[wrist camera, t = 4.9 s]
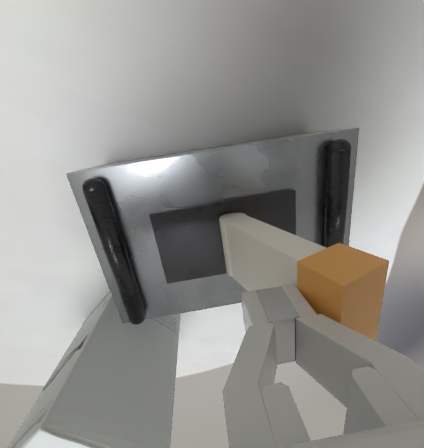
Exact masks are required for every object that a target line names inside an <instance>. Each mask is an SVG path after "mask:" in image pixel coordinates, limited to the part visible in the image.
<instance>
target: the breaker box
mask: <svg viewBox="0 0 424 448" xmlns="http://www.w3.org/2000/svg"><path fill="white" fill-rule="evenodd" d="M358 133H359V128H355V129H344V130H333V131H322V132H312V133H304V134H297V135H291V136H284V137H278V138H272V139H265V140H259V141H252V142H246V143H239V144H233V145H227V146H220V147H214V148H207V149H201V150H194V151H188V152H181V153H175V154H169V155H162V156H156V157H149V158H143V159H136V160H130V161H123V162H117V163H111V164H105V165H100V166H96V167H92V168H88V169H84V170H79V171H75V172H71V173H67V177H68V180H69V182H70V185H71V188H72V190H73V193H74V196H75V198H76V201H77V204H78V206H79V209H80V212H81V214H82V217H83V220H84V222H85V225H86V228H87V230H88V233H89V236H90V238H91V241H92V244H93V246H94V249H95V252H96V254H97V257H98V260H99V262H100V265H101V267H102V270H103V273H104V275H105V278H106V281H107V283H108V286H109V289H110V291H111V294H112V297H113V299H114V302H115V305H116V307H117V310H118V313H119V315H120V318H121V321H122V323H128V322H131V323H132V324H134V325H138V324H141V323H142V322H143V321H144V320H145V319H151V318H156V317H162V316H168V315H173V314H179V313H185V312H190V311H196V310H201V309H207V308H213V307H218V306H224V305H229V304H235V303H241V302H242V301H241V292H247V290H246V289H245V288H244V287H243V286H242V285H241V284H240V283H238V282H237V281H236V280H235V279H234V278H233V277H231V276H229V275H228V274H227V272H226V265H225V257H224V250H223V243H222V236H221V229H220V222H219V218H220V217H221V216H222V215H225V214H228V213H244V214H246V215H247V216H249V217H252V218H254V219H257V220H259V221H262V222H264V223H267V224H269V225H271V226H274V227H276V228H279V229H281V230H284V231H286V232H289V233H291V234H294V235H296V236H299V237H301V238H304V239H306V240H309V241H311V242H314V243H316V244H319V245H321V246H323V247H326V248H328V247H330V246H333V245H335V244H337V243H341V244H344V245H347V246H349V235H350V224H351V213H352V201H353V190H354V178H355V167H356V156H357V144H358Z"/></svg>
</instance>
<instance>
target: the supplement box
mask: <svg viewBox="0 0 424 448" xmlns="http://www.w3.org/2000/svg"><path fill="white" fill-rule="evenodd" d="M179 325H180V313H179V314H173V315H168V316H162V317H156V318H151V319H145V320H144V321H143V322H142V323H141V324H138V325H134V324H132V323H131V322H128V323H122V321H121V318H120V315H119V313H118V310H117V307H116V305H115V302H114V299H113V297H112V294H111V291H110V292H109V293H108V295H107V296H106V297H105V298H104V300H103V301H102V302H101V303H100V304H99V305H98V307H97V308H96V309H95V310H94V311H93V312H92V314H91V315H90V316H89V317H88V318H87V319H86V320H85V322H84V323H83V325H82V327H81V328H80V330H79V331H78V333H77V335H76V336H75V338H74V340H73V341H72V343H71V344H70V346H69V348H68V349H67V351H66V352H65V354H64V356H63V357H62V359H61V361H60V362H59V364H58V365H57V367H56V369H55V370H54V372H53V374H52V375H51V377H50V378H49V380H48V382H47V383H46V385H45V387H44V388H43V390H42V392H41V393H40V395H39V397H38V398H37V400H36V402H35V403H34V405H33V407H32V408H31V410H30V412H29V413H28V415H27V417H26V418H25V420H24V422H23V423H22V425H21V427H20V428H19V430H18V431H17V433H16V435H15V437H14V438H13V440H12V441H11V443H10V445H9V446H8V448H170V442H171V430H172V416H173V404H174V390H175V377H176V365H177V351H178V338H179Z"/></svg>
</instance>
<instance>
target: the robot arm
mask: <svg viewBox="0 0 424 448" xmlns="http://www.w3.org/2000/svg"><path fill="white" fill-rule="evenodd" d="M241 301H242V310H243V319H244V324H245V330H246V334H245V337H244V339H243V342H242V344H241V347H240V349H239V352H238V354H237V357H236V359H235V362H234V364H233V367H232V369H231V372H230V374H229V376H228V379H227V381H226V384H225V387H224V389H223V400H224V408H225V417H226V425H227V434H228V442H229V448H424V373H423V372H422V371H421V370H420V369H419V368H418V367H417V366H416V365H415V364H414V363H413V362H412V361H411V360H410V359H409V358H408V357H405V356H404V355H402V354H400V353H398V352H396V351H394V350H392V349H390V348H388V347H386V346H384V345H382V344H380V343H378V342H376V341H374V340H372V339H370V338H368V337H366V336H364V335H362V334H360V333H358V332H356V331H354V330H352V329H350V328H348V327H346V326H344V325H342V324H340V323H338V322H336V321H334V320H332V319H330V318H328V317H326V316H324V315H322V314H318V315H317V314H316V312H315V311H314V310H313V308H312V307H311V306H310V304H309V303H308V302H307V300H306V299H305V298H304V296H303V295H302V294H301V292H300V291H299V290H298V288H297V287H296V286H295V285H294V284H288V285H283V286H279V287H273V288H266V289H259V290H253V291H247V292H241ZM293 361H296V363H297V364H298V365H299V366H300V367H301V368H303V369H304V370H305V371H306V372H307V373H308V374H309V375H310V376H312V377H313V378H314V379H315V380H316V381H317V382H318V383H320V384H321V385H322V386H323V387H324V388H325V389H326V390H327V391H329V392H330V393H331V394H332V395H333V396H334V397H335V398H337V399H338V400H339V401H340V402H341V403H342V404H343V405H344V406H345V407H347V412H346V419H345V427H344V435H338V436H333V437H328V438H323V439H319V440H313V441H311V440H310V438H309V435H308V433H307V431H306V428H305V425H304V423H303V420H302V418H301V416H300V413H299V411H298V408H297V406H296V403H295V401H294V398H293V396H292V394H291V392H290V389H289V387H288V386H287V385H285V384H283V383H281V382H280V383H275V384H274V379H275V374H276V368H277V364H282V363H287V362H293Z"/></svg>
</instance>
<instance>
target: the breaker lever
mask: <svg viewBox="0 0 424 448" xmlns="http://www.w3.org/2000/svg"><path fill="white" fill-rule="evenodd" d="M219 222H220V229H221V236H222V243H223V250H224V257H225V265H226V272H227V274H228V275H229V276H231V277H233V278H234V279H235V280H236V281H237V282H238V283H240V284H241V285H242V286H243V287H244V288H245V289H246V290H247V291H253V290H259V289H266V288H273V287H279V286H283V285H288V284H294V285H295V286H296V287H297V288H298V290H299V291H300V292H301V294H302V295H303V296H304V298H305V299H306V300H307V302H308V303H309V304H310V306H311V307H312V308H313V310H314V311H315V312H316V314H317V315H318V314H322V315H324V316H326V317H328V318H330V319H332V320H334V321H336V322H338V323H340V324H342V325H344V326H346V327H348V328H350V329H352V330H354V331H356V332H358V333H360V334H362V335H364V336H366V337H368V338H370V339H372V340H374V341H376V337H377V330H378V324H379V318H380V312H381V306H382V300H383V294H384V288H385V282H386V276H387V270H388V264H389V261H388V260H385V259H383V258H380V257H377V256H374V255H371V254H369V253H366V252H363V251H360V250H358V249H355V248H352V247H349V246H347V245H344V244H341V243H337V244H335V245H333V246H330V247H328V248H326V247H323V246H321V245H319V244H316V243H314V242H311V241H309V240H306V239H304V238H301V237H299V236H296V235H294V234H291V233H289V232H286V231H284V230H281V229H279V228H276V227H274V226H271V225H269V224H267V223H264V222H262V221H259V220H257V219H254V218H252V217H249V216H247V215H246V214H244V213H228V214H225V215H222V216H221V217H220V218H219Z"/></svg>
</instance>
